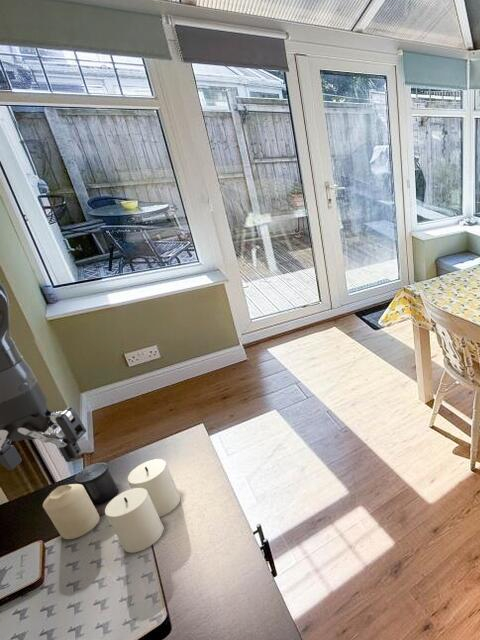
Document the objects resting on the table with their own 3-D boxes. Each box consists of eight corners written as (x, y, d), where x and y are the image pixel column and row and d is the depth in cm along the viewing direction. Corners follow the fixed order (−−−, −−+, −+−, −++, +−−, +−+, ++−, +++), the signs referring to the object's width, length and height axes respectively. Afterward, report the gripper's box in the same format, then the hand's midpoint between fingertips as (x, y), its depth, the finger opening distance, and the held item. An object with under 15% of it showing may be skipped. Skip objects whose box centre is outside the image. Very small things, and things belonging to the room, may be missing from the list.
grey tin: (82, 508, 85) (68, 484, 82) (97, 488, 89) (85, 464, 86) (110, 503, 86) (97, 480, 83) (124, 484, 90) (112, 460, 87)
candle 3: (116, 555, 76) (94, 515, 72) (134, 525, 82) (115, 486, 77) (154, 549, 78) (134, 509, 73) (169, 520, 83) (152, 481, 79)
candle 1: (107, 517, 83) (88, 482, 79) (74, 543, 78) (52, 507, 74) (87, 510, 84) (68, 475, 80) (54, 535, 79) (31, 499, 75)
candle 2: (137, 521, 83) (118, 482, 78) (153, 495, 88) (136, 457, 83) (172, 515, 84) (155, 477, 79) (185, 490, 89) (170, 453, 85)
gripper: (72, 370, 72) (105, 440, 78) (-32, 379, 69) (12, 451, 75) (38, 398, 65) (78, 472, 72) (-78, 410, 62) (-25, 486, 69)
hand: (44, 461), depth 73 cm, fingers open, 8 cm apart
